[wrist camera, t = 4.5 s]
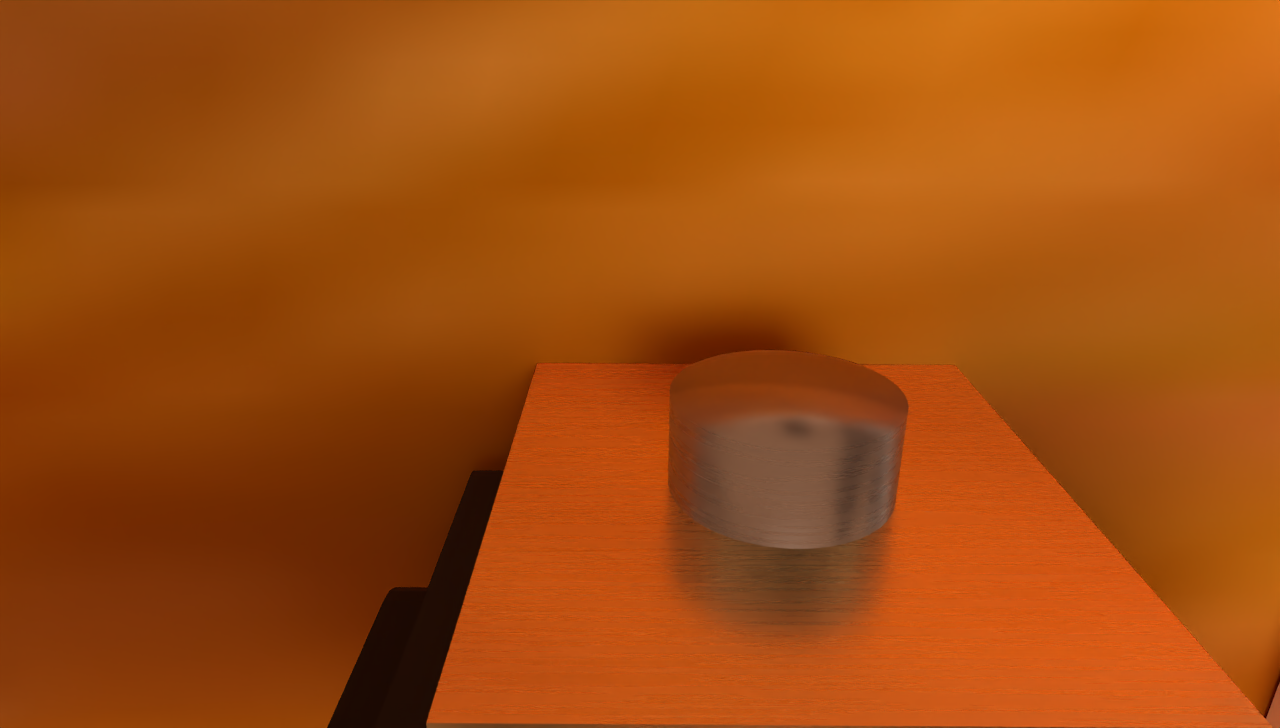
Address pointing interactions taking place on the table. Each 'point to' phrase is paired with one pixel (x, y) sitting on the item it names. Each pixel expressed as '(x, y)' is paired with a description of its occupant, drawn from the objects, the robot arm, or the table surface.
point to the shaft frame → (1275, 710)
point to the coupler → (802, 565)
